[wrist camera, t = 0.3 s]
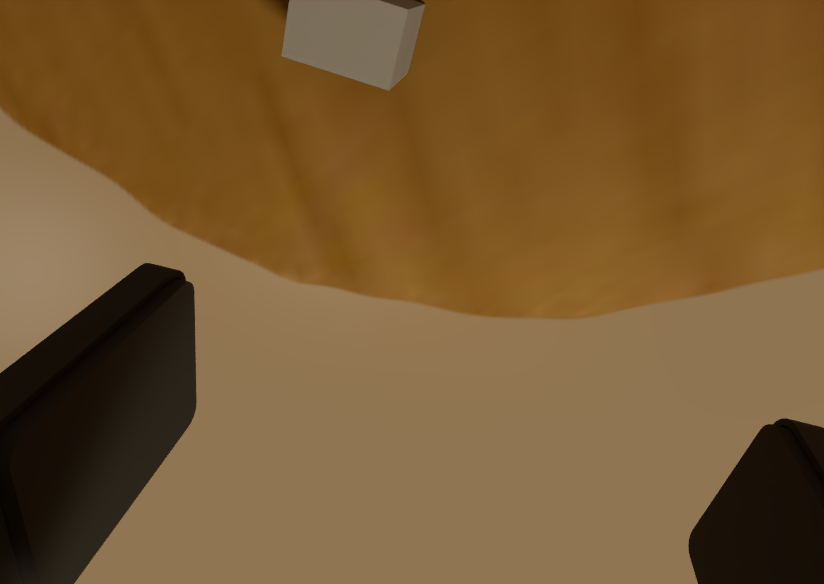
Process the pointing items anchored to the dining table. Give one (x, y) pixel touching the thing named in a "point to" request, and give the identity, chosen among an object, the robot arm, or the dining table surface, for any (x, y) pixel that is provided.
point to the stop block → (354, 37)
